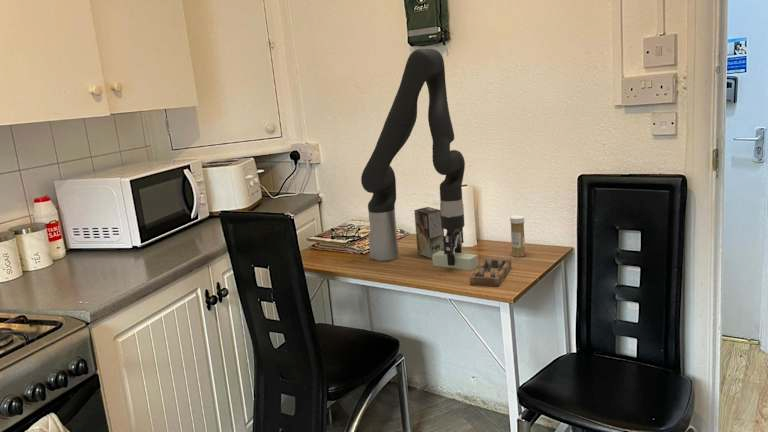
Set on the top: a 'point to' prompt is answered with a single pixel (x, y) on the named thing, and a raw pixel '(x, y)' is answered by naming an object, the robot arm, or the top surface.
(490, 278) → the peg frame
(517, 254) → the sprinkles bottle
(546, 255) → the top surface
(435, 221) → the coffee box
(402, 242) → the top surface
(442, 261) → the pale green block
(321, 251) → the top surface
